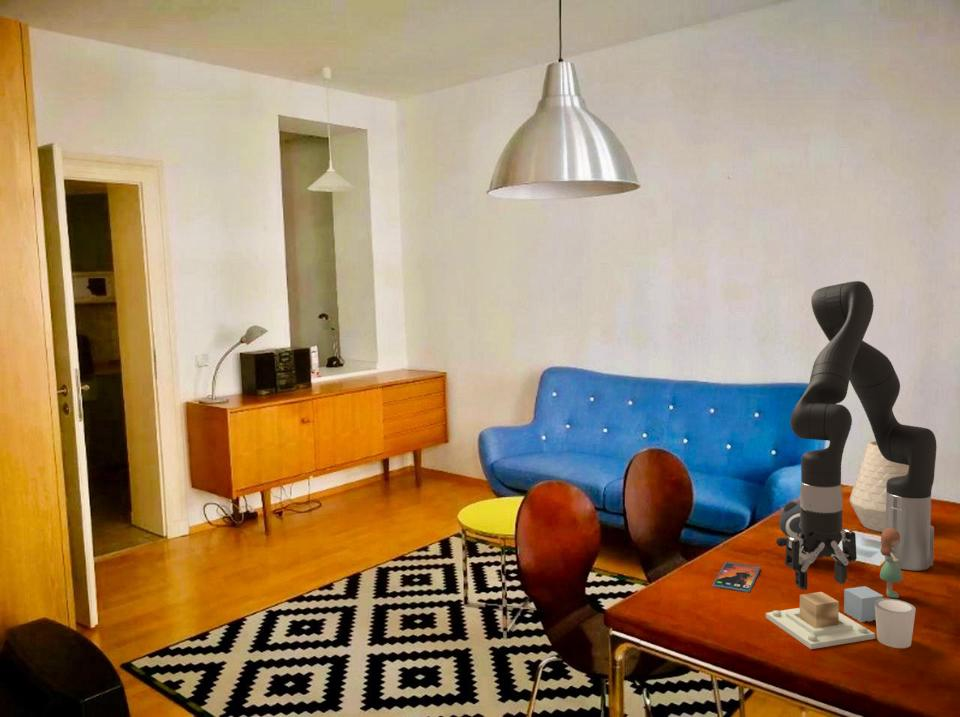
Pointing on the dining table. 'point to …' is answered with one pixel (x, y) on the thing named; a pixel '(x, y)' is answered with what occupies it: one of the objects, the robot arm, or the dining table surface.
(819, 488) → the robot arm
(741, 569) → the smartphone
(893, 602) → the white cup
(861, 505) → the vase
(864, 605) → the grey cube
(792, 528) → the toy
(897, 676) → the dining table surface
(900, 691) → the dining table surface
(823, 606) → the tan wooden cube
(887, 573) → the toy
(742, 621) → the dining table surface
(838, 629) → the baseplate
